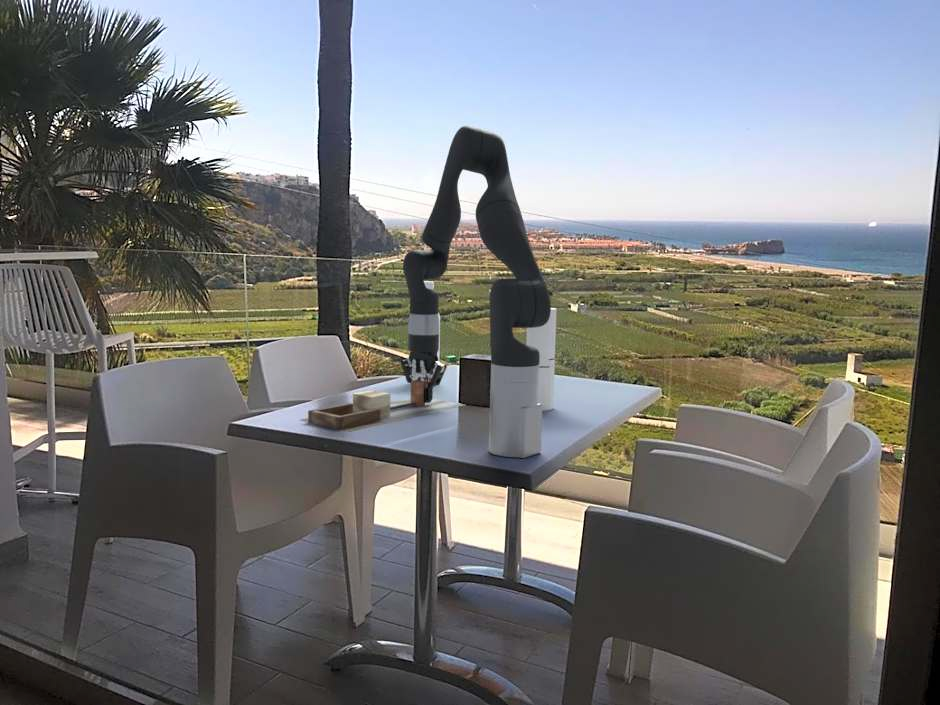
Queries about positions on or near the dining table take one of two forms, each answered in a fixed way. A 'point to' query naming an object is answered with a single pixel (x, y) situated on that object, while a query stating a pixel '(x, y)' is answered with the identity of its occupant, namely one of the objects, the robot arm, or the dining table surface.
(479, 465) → the dining table surface
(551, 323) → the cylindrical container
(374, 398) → the rod-linked blocks
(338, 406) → the lane rack
